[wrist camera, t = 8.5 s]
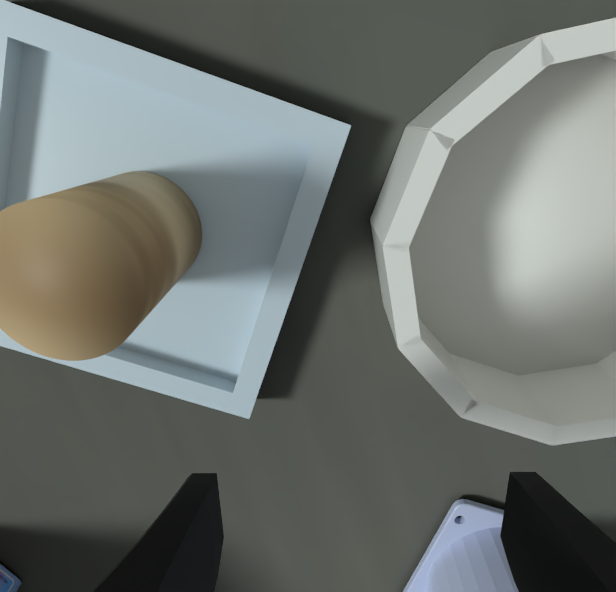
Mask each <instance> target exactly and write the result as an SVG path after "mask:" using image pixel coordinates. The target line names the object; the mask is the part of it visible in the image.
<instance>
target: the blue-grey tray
mask: <svg viewBox="0 0 616 592" xmlns="http://www.w3.org/2000/svg"><path fill="white" fill-rule="evenodd" d="M350 128H351V125H349V124H346V123H343V122H340V121H338V120H335V119H332V118H329V117H327V116H324V115H321V114H318V113H315V112H313V111H310V110H307V109H304V108H302V107H299V106H296V105H293V104H291V103H288V102H285V101H282V100H279V99H277V98H274V97H271V96H268V95H266V94H263V93H260V92H257V91H255V90H252V89H249V88H246V87H243V86H241V85H238V84H235V83H232V82H230V81H227V80H224V79H221V78H218V77H216V76H213V75H210V74H207V73H205V72H202V71H199V70H196V69H194V68H191V67H188V66H185V65H182V64H180V63H177V62H174V61H171V60H169V59H166V58H163V57H160V56H157V55H155V54H152V53H149V52H146V51H144V50H141V49H138V48H135V47H133V46H130V45H127V44H124V43H121V42H119V41H116V40H113V39H110V38H108V37H105V36H102V35H99V34H97V33H94V32H91V31H88V30H85V29H83V28H80V27H77V26H74V25H72V24H69V23H66V22H63V21H60V20H58V19H55V18H52V17H49V16H47V15H44V14H41V13H38V12H36V11H33V10H30V9H27V8H24V7H22V6H19V5H16V4H13V3H11V2H8V1H5V0H0V211H2V210H3V209H5V208H7V207H9V206H11V205H13V204H17V203H20V202H23V201H27V200H30V199H34V198H37V197H41V196H45V195H48V194H52V193H55V192H59V191H62V190H66V189H69V188H73V187H76V186H80V185H83V184H87V183H90V182H94V181H98V180H101V179H105V178H108V177H112V176H115V175H119V174H122V173H126V172H132V171H144V172H150V173H154V174H158V175H160V176H163V177H165V178H167V179H169V180H170V181H172V182H173V183H175V184H176V185H178V186H179V187H180V188H181V189H182V190H183V191H184V192H185V193H186V194H187V195H188V197H189V198H190V199H191V201H192V202H193V204H194V206H195V208H196V210H197V212H198V215H199V217H200V221H201V226H202V242H201V248H200V251H199V254H198V256H197V258H196V260H195V262H194V263H193V264H192V266H191V267H190V268H189V269H188V270H187V271H186V273H185V274H184V275H183V276H182V277H181V278H180V279H179V281H178V282H177V283H176V284H175V285H174V286H173V287H172V288H171V290H170V291H169V292H168V293H167V294H166V295H165V296H164V297H163V299H162V300H161V301H160V302H159V303H158V304H157V305H156V306H155V308H154V309H153V310H152V311H151V312H150V313H149V314H148V316H147V317H146V318H145V319H144V320H143V321H142V322H141V323H140V325H139V326H138V327H137V328H136V329H135V330H134V331H133V332H132V334H131V335H130V336H129V337H128V338H127V339H126V340H125V341H124V342H123V343H122V344H121V345H120V346H118V347H117V348H116V349H114V350H113V351H111V352H109V353H107V354H105V355H102V356H100V357H97V358H93V359H89V360H81V361H67V360H58V359H54V358H50V357H46V356H43V355H40V354H38V353H35V352H33V351H31V350H29V349H27V348H25V347H24V346H22V345H20V344H19V343H17V342H16V341H14V340H13V339H12V338H10V337H9V336H8V335H7V334H6V333H5V332H4V331H2V330H1V329H0V346H2V347H6V348H9V349H13V350H16V351H19V352H23V353H26V354H30V355H33V356H36V357H40V358H43V359H47V360H50V361H53V362H57V363H60V364H64V365H67V366H70V367H74V368H77V369H81V370H84V371H87V372H91V373H94V374H98V375H101V376H104V377H108V378H111V379H115V380H118V381H121V382H125V383H128V384H132V385H135V386H138V387H142V388H145V389H149V390H152V391H155V392H159V393H162V394H166V395H169V396H172V397H176V398H179V399H183V400H186V401H189V402H193V403H196V404H200V405H203V406H206V407H210V408H213V409H217V410H220V411H223V412H227V413H230V414H234V415H237V416H240V417H244V418H247V419H249V418H250V415H251V412H252V409H253V407H254V404H255V401H256V398H257V395H258V392H259V389H260V386H261V384H262V381H263V378H264V375H265V372H266V369H267V366H268V363H269V361H270V358H271V355H272V352H273V349H274V346H275V343H276V340H277V338H278V335H279V332H280V329H281V326H282V323H283V320H284V317H285V315H286V312H287V309H288V306H289V303H290V300H291V297H292V294H293V292H294V289H295V286H296V283H297V280H298V277H299V274H300V271H301V269H302V266H303V263H304V260H305V257H306V254H307V251H308V248H309V246H310V243H311V240H312V237H313V234H314V231H315V228H316V225H317V223H318V220H319V217H320V214H321V211H322V208H323V205H324V202H325V200H326V197H327V194H328V191H329V188H330V185H331V182H332V179H333V177H334V174H335V171H336V168H337V165H338V162H339V159H340V156H341V154H342V151H343V148H344V145H345V142H346V139H347V136H348V133H349V131H350Z"/></svg>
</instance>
